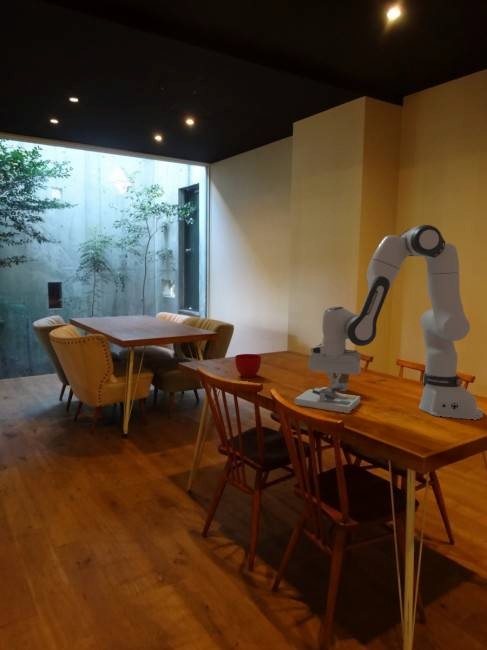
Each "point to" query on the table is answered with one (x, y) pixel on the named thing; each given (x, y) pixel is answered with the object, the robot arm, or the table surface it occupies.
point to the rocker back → (333, 388)
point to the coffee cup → (342, 381)
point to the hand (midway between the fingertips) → (334, 383)
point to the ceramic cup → (248, 364)
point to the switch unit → (328, 401)
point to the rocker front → (327, 394)
